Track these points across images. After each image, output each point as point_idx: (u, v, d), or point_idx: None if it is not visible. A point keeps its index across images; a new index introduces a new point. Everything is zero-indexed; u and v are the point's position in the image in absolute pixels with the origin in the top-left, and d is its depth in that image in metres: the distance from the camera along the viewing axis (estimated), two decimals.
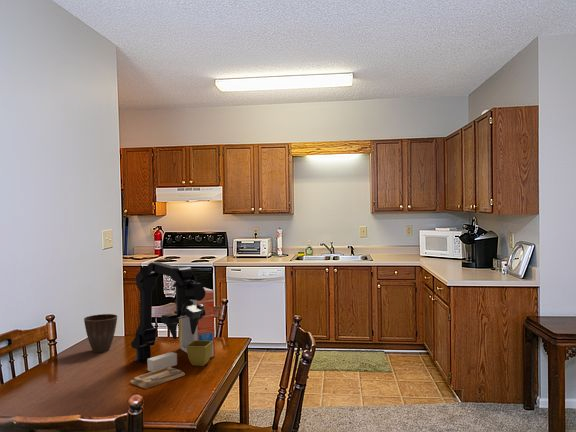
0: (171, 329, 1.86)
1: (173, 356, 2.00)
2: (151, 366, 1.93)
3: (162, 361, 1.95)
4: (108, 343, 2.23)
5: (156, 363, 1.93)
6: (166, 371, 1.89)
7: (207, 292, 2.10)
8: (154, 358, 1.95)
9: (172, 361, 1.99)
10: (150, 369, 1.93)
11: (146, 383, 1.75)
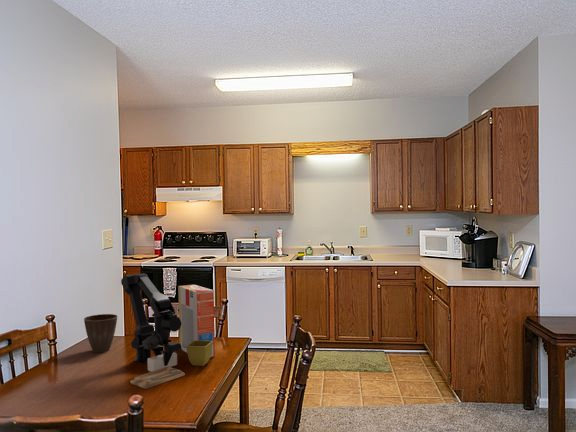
0: None
1: (173, 355, 2.00)
2: (151, 366, 1.93)
3: (162, 361, 1.95)
4: (108, 343, 2.23)
5: (156, 363, 1.93)
6: (166, 371, 1.89)
7: (207, 292, 2.10)
8: (154, 358, 1.95)
9: (172, 361, 1.99)
10: (150, 369, 1.93)
11: (146, 383, 1.75)
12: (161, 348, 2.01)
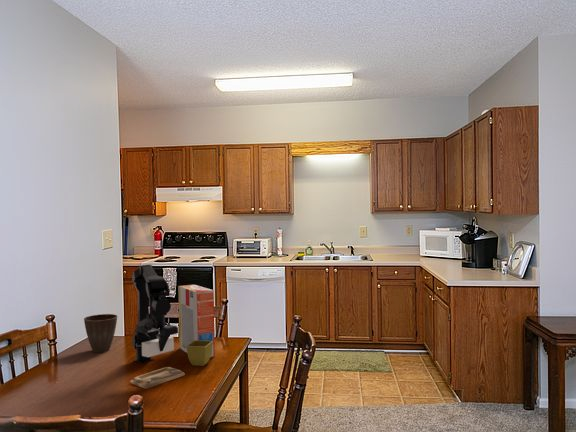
0: None
1: (169, 340, 1.86)
2: (146, 350, 1.78)
3: (158, 345, 1.81)
4: (108, 343, 2.23)
5: (151, 347, 1.79)
6: (166, 371, 1.89)
7: (207, 292, 2.10)
8: (149, 342, 1.81)
9: (168, 345, 1.85)
10: (145, 353, 1.79)
11: (146, 383, 1.75)
12: (156, 332, 1.86)
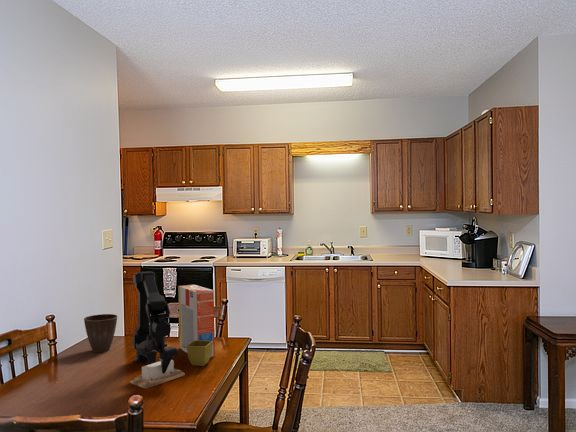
0: None
1: (169, 363, 1.85)
2: (146, 375, 1.78)
3: (158, 369, 1.81)
4: (108, 343, 2.23)
5: (151, 372, 1.79)
6: None
7: (207, 292, 2.10)
8: (149, 366, 1.80)
9: (168, 369, 1.85)
10: (145, 378, 1.79)
11: (146, 383, 1.75)
12: (154, 353, 1.87)
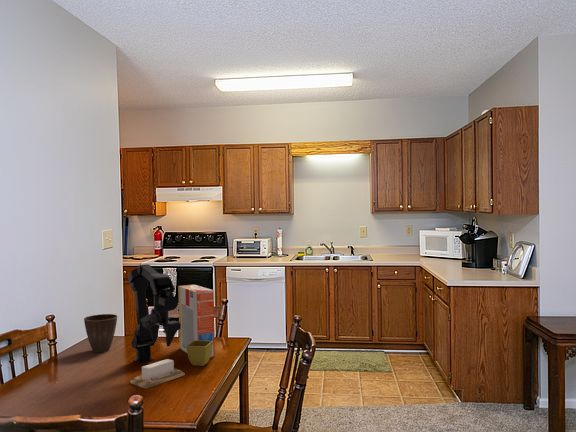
0: None
1: (169, 363, 1.85)
2: (146, 375, 1.78)
3: (158, 369, 1.81)
4: (108, 343, 2.23)
5: (151, 372, 1.79)
6: None
7: (207, 292, 2.10)
8: (149, 366, 1.80)
9: (168, 369, 1.85)
10: (145, 378, 1.79)
11: (146, 383, 1.75)
12: (157, 326, 1.96)
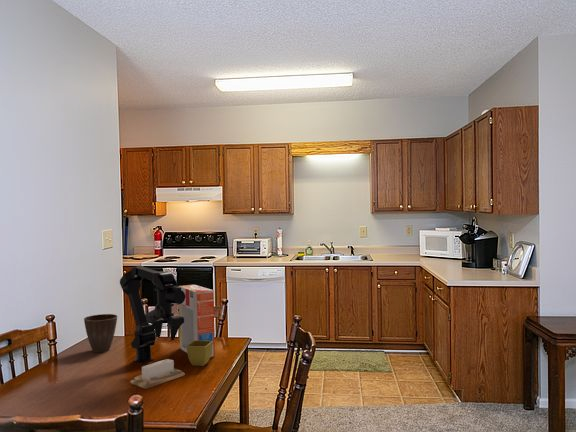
0: None
1: (169, 363, 1.85)
2: (146, 375, 1.78)
3: (158, 369, 1.81)
4: (108, 343, 2.23)
5: (151, 372, 1.79)
6: None
7: (207, 292, 2.10)
8: (149, 366, 1.80)
9: (168, 369, 1.85)
10: (145, 378, 1.79)
11: (146, 383, 1.75)
12: (160, 322, 2.02)
